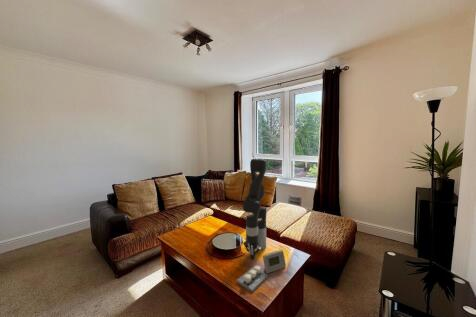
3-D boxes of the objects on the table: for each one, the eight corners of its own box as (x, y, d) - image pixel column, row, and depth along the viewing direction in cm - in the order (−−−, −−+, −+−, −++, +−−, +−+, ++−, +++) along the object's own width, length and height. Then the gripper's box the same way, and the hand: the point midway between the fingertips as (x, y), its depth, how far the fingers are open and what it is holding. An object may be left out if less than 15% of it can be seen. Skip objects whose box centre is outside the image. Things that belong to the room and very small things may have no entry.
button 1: (242, 282, 119) (242, 277, 119) (247, 277, 123) (246, 272, 122) (248, 285, 116) (248, 280, 116) (252, 281, 120) (252, 276, 119)
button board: (237, 282, 122) (236, 279, 121) (252, 268, 133) (252, 266, 133) (252, 292, 114) (252, 289, 113) (267, 276, 126) (267, 274, 125)
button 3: (252, 273, 127) (252, 268, 126) (256, 269, 130) (256, 264, 130) (258, 276, 124) (258, 271, 123) (262, 272, 127) (262, 267, 127)
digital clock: (265, 274, 128) (265, 259, 126) (260, 265, 137) (260, 251, 135) (288, 270, 131) (288, 255, 130) (282, 262, 140) (282, 248, 139)
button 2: (247, 277, 123) (247, 272, 123) (251, 273, 127) (251, 268, 126) (253, 281, 120) (253, 276, 120) (257, 276, 124) (257, 271, 123)
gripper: (239, 231, 121) (240, 257, 123) (257, 238, 113) (257, 266, 115) (247, 227, 127) (247, 252, 129) (264, 233, 118) (264, 260, 120)
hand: (252, 259), depth 122 cm, fingers closed
